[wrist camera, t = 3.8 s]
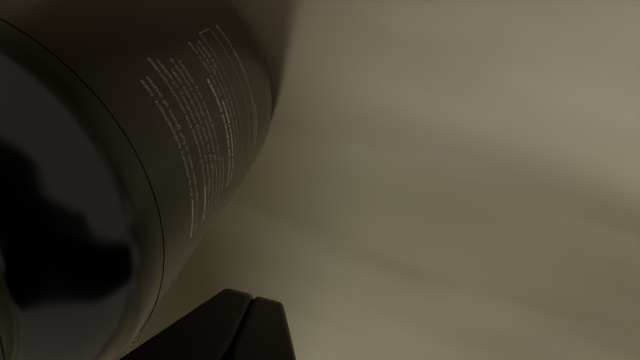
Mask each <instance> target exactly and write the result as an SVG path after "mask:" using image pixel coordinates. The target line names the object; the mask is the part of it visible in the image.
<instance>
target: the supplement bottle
mask: <svg viewBox="0 0 640 360" xmlns="http://www.w3.org/2000/svg"><path fill="white" fill-rule="evenodd" d="M271 111H272V91H271V83H270V76H269V72H268V68H267V64H266V61H265V58H264V55H263V53H262V50H261V48H260V46H259V44H258V41H257V39H256V38H255V36H254V34H253V32H252V31H251V29H250V27H249V26H248V25H247V23H246V22H245V20H244V19H243V17H242V16H241V15H240V14H239V13H238V12H237V10H236V9H235V8H234V7H233V6H232V5H231V4H230V3H229V2H228V1H227V0H0V360H117V359H119V358H120V357H121V355H122V354H123V353H124V352H125V351H126V349H127V348H128V347H129V346H130V345H131V343H132V342H133V341H134V340H135V338H136V337H137V336H138V334H139V333H140V332H141V331H142V329H143V328H144V326H145V325H146V324H147V322H148V321H149V319H150V318H151V316H152V315H153V313H154V312H155V310H156V309H157V307H158V306H159V304H160V303H161V301H162V300H163V298H164V297H165V295H166V294H167V292H168V291H169V289H170V288H171V286H172V285H173V283H174V282H175V280H176V279H177V277H178V275H179V274H180V272H181V271H182V269H183V268H184V266H185V265H186V263H187V262H188V260H189V259H190V257H191V256H192V254H193V253H194V251H195V250H196V248H197V247H198V245H199V244H200V242H201V241H202V239H203V238H204V236H205V235H206V233H207V232H208V230H209V229H210V227H211V226H212V224H213V223H214V221H215V220H216V218H217V217H218V215H219V214H220V212H221V211H222V209H223V208H224V206H225V205H226V203H227V202H228V200H229V199H230V197H231V196H232V194H233V193H234V191H235V190H236V188H237V187H238V185H239V184H240V182H241V181H242V179H243V178H244V176H245V174H246V173H247V171H248V170H249V168H250V167H251V165H252V163H253V162H254V160H255V158H256V157H257V155H258V153H259V151H260V149H261V147H262V145H263V143H264V140H265V137H266V134H267V131H268V127H269V123H270V118H271Z"/></svg>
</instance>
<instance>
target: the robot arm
mask: <svg viewBox="0 0 640 360" xmlns="http://www.w3.org/2000/svg"><path fill="white" fill-rule="evenodd" d="M120 360H296V357H295V353H294V349H293V344H292V340H291V336H290V332H289V327H288V323H287V319H286V314H285V310H284V307H283V305H282V303H280V302H278V301H274V300H270V299H267V298H263V297H256V298H255V299H254V300H253V296H252V295H251V294H248V293H244V292H241V291H237V290H233V289H224V290H223V291H221V292H220V293H218V294H217V295H215V296H214V297H212V298H211V299H209V300H208V301H206V302H205V303H203V304H202V305H200V306H199V307H197V308H196V309H194V310H193V311H191V312H190V313H188V314H187V315H185V316H184V317H182V318H181V319H179V320H178V321H176V322H175V323H173V324H172V325H170V326H169V327H167V328H166V329H164V330H163V331H161V332H160V333H158V334H157V335H155V336H154V337H152V338H151V339H149V340H148V341H146V342H145V343H143V344H142V345H140V346H139V347H137V348H136V349H134V350H133V351H131V352H130V353H129V354H127V355H126V356H124V357H123V358H121V359H120Z"/></svg>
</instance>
